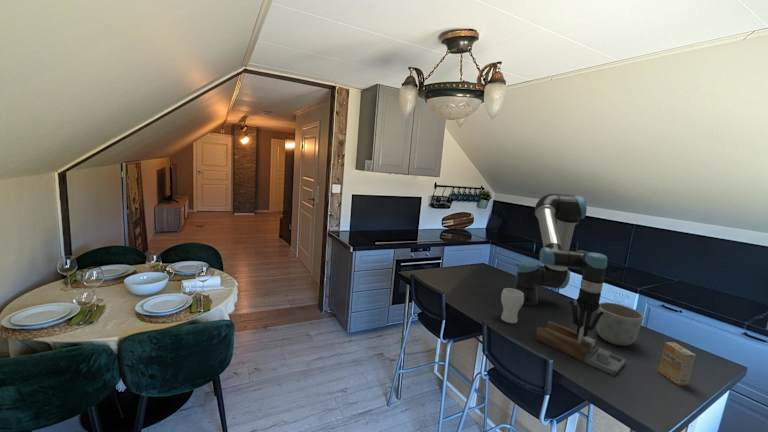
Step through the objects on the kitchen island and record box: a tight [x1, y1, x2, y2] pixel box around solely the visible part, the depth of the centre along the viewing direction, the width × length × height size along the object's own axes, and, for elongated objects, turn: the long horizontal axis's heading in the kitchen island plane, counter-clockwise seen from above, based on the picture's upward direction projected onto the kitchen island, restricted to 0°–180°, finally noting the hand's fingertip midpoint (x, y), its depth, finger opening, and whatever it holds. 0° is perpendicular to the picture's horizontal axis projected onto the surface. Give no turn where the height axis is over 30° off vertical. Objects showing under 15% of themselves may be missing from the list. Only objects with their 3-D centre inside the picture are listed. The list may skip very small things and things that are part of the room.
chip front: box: [596, 347, 612, 365], centre depth 133 cm, size 4×4×4 cm
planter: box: [595, 301, 644, 347], centre depth 151 cm, size 17×17×15 cm
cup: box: [500, 287, 524, 324], centre depth 164 cm, size 11×11×15 cm
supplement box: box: [657, 341, 697, 386], centre depth 125 cm, size 8×5×13 cm, turn 5°
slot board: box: [535, 320, 598, 363], centre depth 144 cm, size 13×20×6 cm, turn 40°
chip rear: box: [581, 337, 597, 352], centre depth 137 cm, size 4×4×4 cm
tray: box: [583, 346, 627, 377], centre depth 133 cm, size 14×11×2 cm
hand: (580, 342), depth 139 cm, fingers closed
